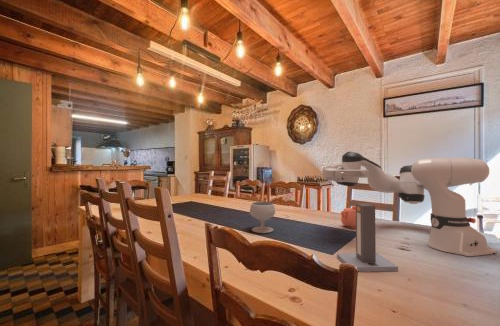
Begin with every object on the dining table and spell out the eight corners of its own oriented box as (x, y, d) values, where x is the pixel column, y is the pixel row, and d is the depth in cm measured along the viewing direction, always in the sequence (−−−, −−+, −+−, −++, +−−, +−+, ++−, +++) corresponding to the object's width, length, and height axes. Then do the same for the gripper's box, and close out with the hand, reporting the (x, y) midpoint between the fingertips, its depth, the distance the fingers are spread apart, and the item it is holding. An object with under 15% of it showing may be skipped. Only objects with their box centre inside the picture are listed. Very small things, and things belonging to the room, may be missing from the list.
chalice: (267, 226, 135) (267, 200, 136) (280, 232, 123) (279, 204, 123) (246, 228, 130) (245, 202, 130) (256, 235, 117) (256, 206, 117)
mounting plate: (377, 256, 89) (377, 252, 89) (398, 271, 77) (398, 266, 77) (337, 257, 89) (337, 253, 89) (351, 271, 77) (351, 267, 77)
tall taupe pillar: (367, 256, 86) (367, 203, 86) (375, 262, 81) (375, 205, 81) (355, 256, 86) (355, 203, 86) (362, 262, 81) (361, 206, 81)
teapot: (349, 231, 124) (348, 209, 124) (334, 225, 135) (334, 205, 135) (377, 227, 130) (377, 206, 130) (361, 223, 141) (360, 203, 142)
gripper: (360, 179, 115) (376, 181, 101) (319, 179, 114) (330, 181, 100) (360, 166, 115) (376, 167, 101) (319, 166, 114) (330, 167, 100)
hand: (352, 174), depth 101 cm, fingers open, 8 cm apart
